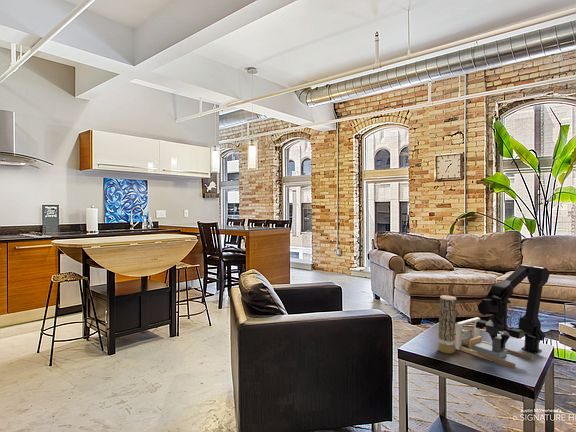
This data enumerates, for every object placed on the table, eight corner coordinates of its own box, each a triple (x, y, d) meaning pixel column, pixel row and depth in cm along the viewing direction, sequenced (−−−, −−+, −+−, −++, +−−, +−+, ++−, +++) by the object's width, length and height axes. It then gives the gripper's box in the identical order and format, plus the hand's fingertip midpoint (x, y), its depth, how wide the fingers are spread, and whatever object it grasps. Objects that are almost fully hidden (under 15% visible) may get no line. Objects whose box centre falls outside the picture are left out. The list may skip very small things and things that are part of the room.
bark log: (455, 354, 168) (457, 299, 167) (439, 353, 169) (441, 298, 169) (452, 349, 175) (454, 296, 174) (436, 347, 176) (438, 294, 175)
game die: (460, 351, 182) (453, 331, 188) (478, 348, 179) (471, 327, 185) (457, 347, 175) (450, 326, 181) (476, 343, 172) (469, 322, 178)
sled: (479, 345, 180) (480, 328, 180) (508, 354, 170) (509, 336, 170) (468, 349, 174) (469, 332, 174) (497, 359, 164) (498, 340, 164)
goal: (475, 341, 186) (476, 317, 186) (479, 342, 185) (480, 318, 184) (455, 348, 175) (456, 322, 175) (459, 350, 174) (460, 323, 174)
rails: (480, 343, 184) (480, 339, 184) (532, 359, 165) (532, 355, 165) (460, 350, 174) (460, 347, 174) (513, 368, 155) (514, 364, 155)
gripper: (470, 311, 171) (468, 345, 171) (514, 321, 156) (512, 358, 156) (482, 307, 178) (481, 340, 178) (525, 317, 163) (524, 353, 163)
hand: (498, 347), depth 169 cm, fingers open, 3 cm apart
